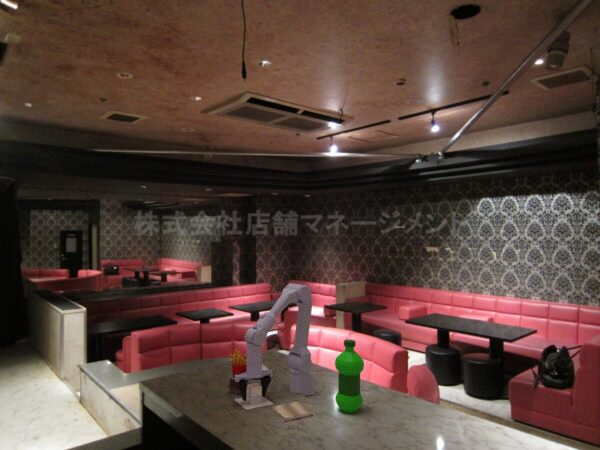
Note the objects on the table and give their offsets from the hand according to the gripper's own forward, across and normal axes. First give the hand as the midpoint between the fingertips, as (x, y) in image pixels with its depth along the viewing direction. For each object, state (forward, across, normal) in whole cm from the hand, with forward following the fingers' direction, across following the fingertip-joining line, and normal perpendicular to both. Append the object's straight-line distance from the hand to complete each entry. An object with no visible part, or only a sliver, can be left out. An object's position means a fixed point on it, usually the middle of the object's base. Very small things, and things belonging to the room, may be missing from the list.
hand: (253, 398), depth 157 cm
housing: (+1, 0, 0) cm, 1 cm away
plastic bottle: (+3, +29, -20) cm, 35 cm away
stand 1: (+3, 0, 0) cm, 3 cm away
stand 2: (+3, +9, -13) cm, 16 cm away
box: (+3, -1, +12) cm, 12 cm away
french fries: (+3, +2, +21) cm, 21 cm away
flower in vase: (+3, +16, +32) cm, 36 cm away
